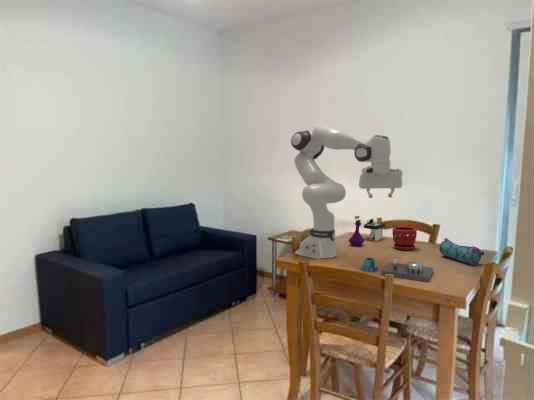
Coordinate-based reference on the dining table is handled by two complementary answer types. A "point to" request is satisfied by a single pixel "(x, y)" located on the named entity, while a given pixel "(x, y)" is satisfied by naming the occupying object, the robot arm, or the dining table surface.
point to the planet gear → (369, 265)
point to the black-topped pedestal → (374, 229)
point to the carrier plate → (408, 270)
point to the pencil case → (460, 252)
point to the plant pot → (404, 237)
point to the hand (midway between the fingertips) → (380, 197)
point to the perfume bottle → (356, 235)
